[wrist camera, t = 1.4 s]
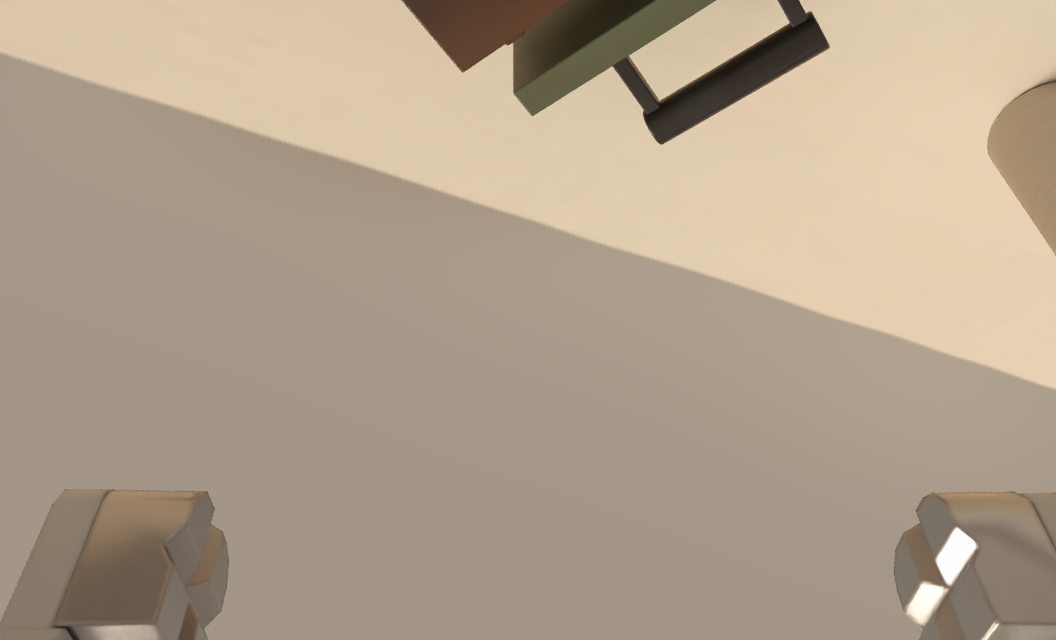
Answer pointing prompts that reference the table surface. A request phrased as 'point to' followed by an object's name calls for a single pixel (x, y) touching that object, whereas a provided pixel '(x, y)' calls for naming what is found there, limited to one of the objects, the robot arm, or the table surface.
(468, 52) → the cabinet
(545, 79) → the drawer
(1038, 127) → the cylinder
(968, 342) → the table surface
